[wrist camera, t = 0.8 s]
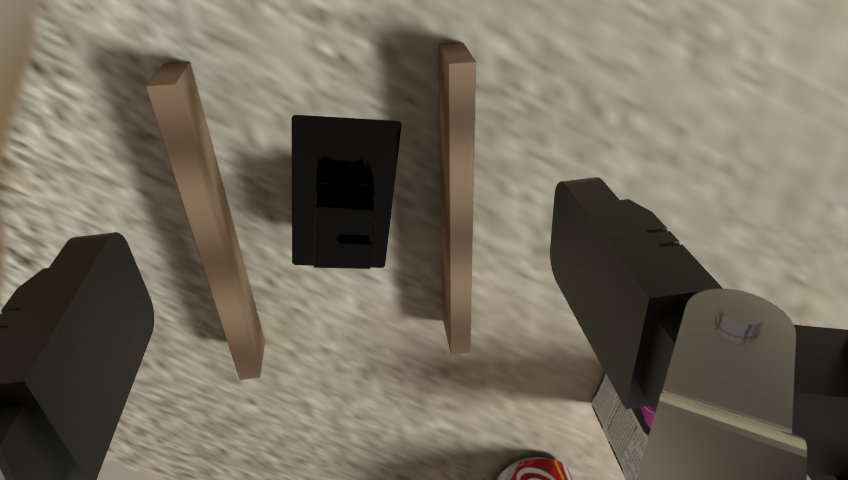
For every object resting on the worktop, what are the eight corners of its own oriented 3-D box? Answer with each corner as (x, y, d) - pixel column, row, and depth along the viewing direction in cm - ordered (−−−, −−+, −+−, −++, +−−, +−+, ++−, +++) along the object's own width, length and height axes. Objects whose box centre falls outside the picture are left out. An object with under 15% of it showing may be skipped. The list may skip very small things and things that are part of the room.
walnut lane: (163, 63, 26) (146, 86, 24) (463, 42, 27) (475, 61, 25) (245, 344, 36) (239, 379, 34) (461, 319, 38) (470, 352, 35)
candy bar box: (740, 358, 44) (918, 581, 31) (713, 401, 47) (866, 624, 33) (606, 358, 42) (734, 598, 29) (586, 403, 45) (695, 641, 31)
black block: (393, 280, 36) (400, 332, 32) (275, 278, 35) (268, 331, 31) (417, 91, 29) (430, 129, 25) (270, 79, 28) (260, 117, 24)
